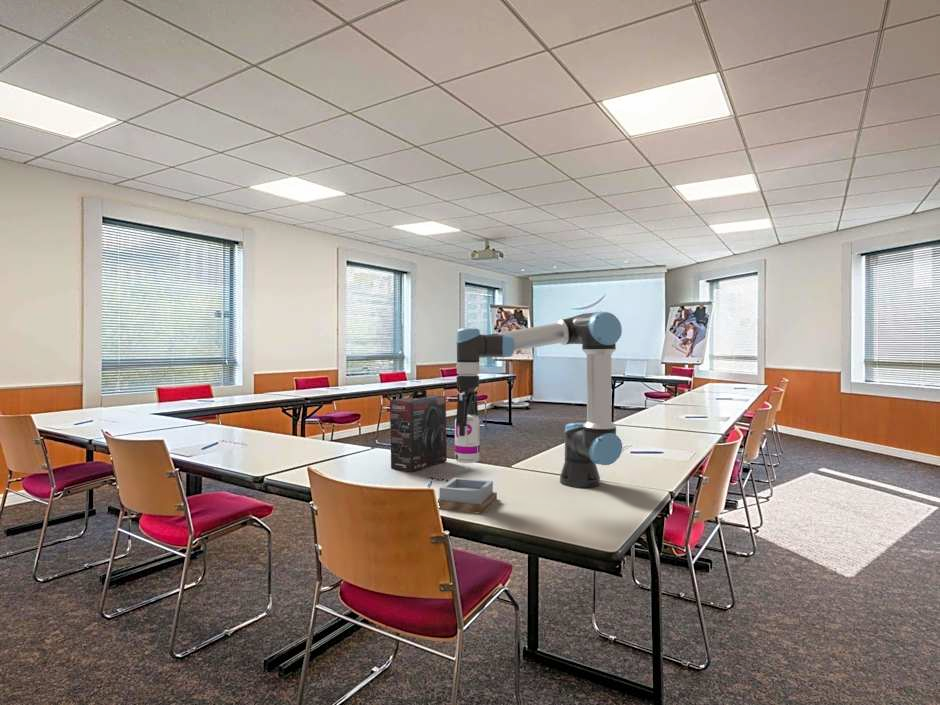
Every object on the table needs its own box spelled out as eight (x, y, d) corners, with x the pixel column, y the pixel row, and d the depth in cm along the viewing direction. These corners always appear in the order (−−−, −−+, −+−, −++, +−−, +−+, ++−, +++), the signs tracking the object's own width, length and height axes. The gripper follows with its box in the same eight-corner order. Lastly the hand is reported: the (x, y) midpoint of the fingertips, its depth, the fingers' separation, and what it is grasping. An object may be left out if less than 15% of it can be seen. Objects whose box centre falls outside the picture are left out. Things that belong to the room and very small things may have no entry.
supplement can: (471, 464, 169) (471, 418, 168) (449, 461, 173) (450, 416, 173) (484, 460, 175) (484, 415, 175) (463, 457, 180) (463, 413, 180)
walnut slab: (496, 501, 179) (496, 492, 179) (482, 515, 164) (483, 505, 164) (452, 496, 185) (452, 488, 184) (435, 510, 169) (435, 500, 169)
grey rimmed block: (492, 492, 179) (492, 481, 179) (480, 504, 166) (480, 492, 166) (454, 489, 183) (454, 477, 183) (439, 500, 170) (439, 487, 170)
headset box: (411, 472, 216) (411, 392, 215) (388, 468, 223) (388, 390, 222) (447, 462, 236) (448, 388, 235) (425, 458, 243) (426, 387, 242)
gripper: (467, 373, 185) (467, 437, 185) (445, 376, 165) (445, 448, 165) (488, 373, 182) (487, 438, 183) (468, 377, 163) (467, 450, 163)
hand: (467, 443), depth 174 cm, fingers closed on supplement can, 8 cm apart
